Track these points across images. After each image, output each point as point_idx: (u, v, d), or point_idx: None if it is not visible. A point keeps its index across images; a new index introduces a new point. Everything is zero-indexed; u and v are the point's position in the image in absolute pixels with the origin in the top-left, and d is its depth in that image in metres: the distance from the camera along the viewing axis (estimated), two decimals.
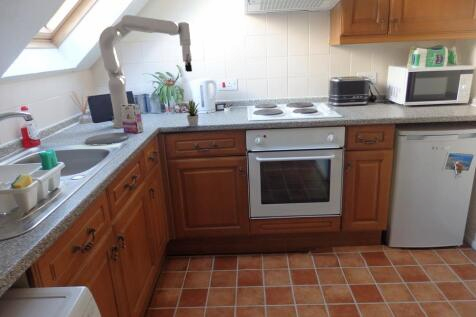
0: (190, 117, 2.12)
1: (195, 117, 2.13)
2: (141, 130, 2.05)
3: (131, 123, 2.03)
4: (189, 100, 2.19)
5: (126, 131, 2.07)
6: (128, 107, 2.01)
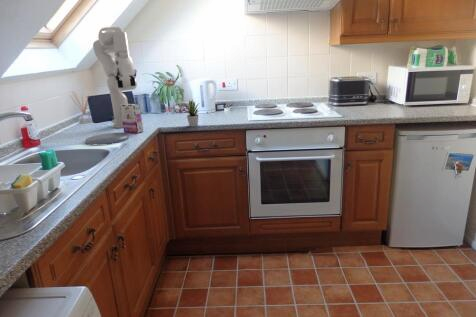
0: (190, 117, 2.12)
1: (195, 117, 2.13)
2: (141, 130, 2.05)
3: (131, 123, 2.03)
4: (189, 100, 2.19)
5: (126, 131, 2.07)
6: (128, 107, 2.01)
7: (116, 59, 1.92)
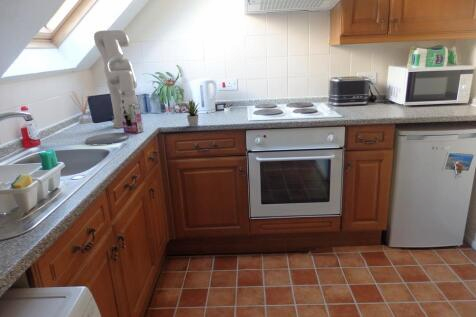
0: (190, 117, 2.12)
1: (195, 117, 2.13)
2: (141, 130, 2.05)
3: (131, 123, 2.03)
4: (189, 100, 2.19)
5: (126, 131, 2.07)
6: None
7: (122, 98, 1.98)
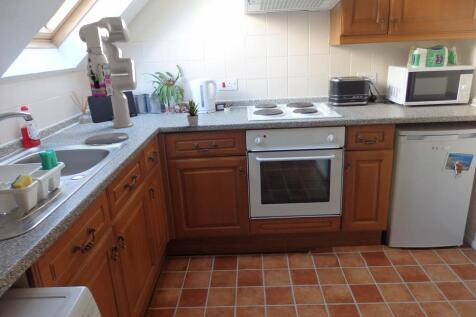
0: (190, 117, 2.12)
1: (195, 117, 2.13)
2: (111, 93, 1.84)
3: None
4: (189, 100, 2.19)
5: (94, 95, 1.86)
6: None
7: (88, 56, 1.78)
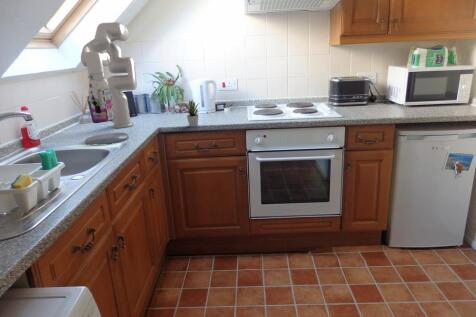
0: (190, 117, 2.12)
1: (195, 117, 2.13)
2: (111, 117, 1.86)
3: (101, 110, 1.85)
4: (189, 100, 2.19)
5: (96, 119, 1.88)
6: None
7: (90, 82, 1.80)
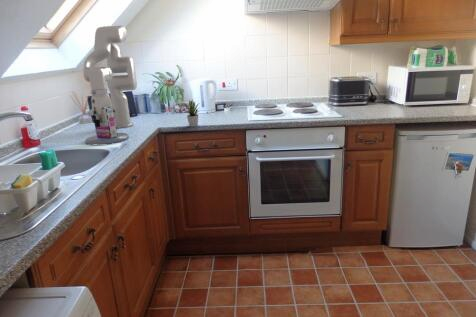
0: (190, 117, 2.12)
1: (195, 117, 2.13)
2: (115, 134, 1.90)
3: (104, 127, 1.88)
4: (189, 100, 2.19)
5: (99, 136, 1.92)
6: None
7: (92, 97, 1.82)
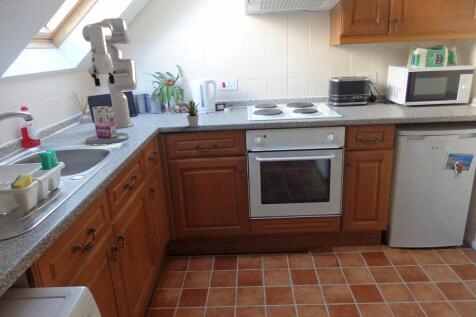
0: (190, 117, 2.12)
1: (195, 117, 2.13)
2: (115, 134, 1.90)
3: (104, 127, 1.88)
4: (189, 100, 2.19)
5: (99, 136, 1.92)
6: (100, 110, 1.85)
7: (92, 56, 1.81)
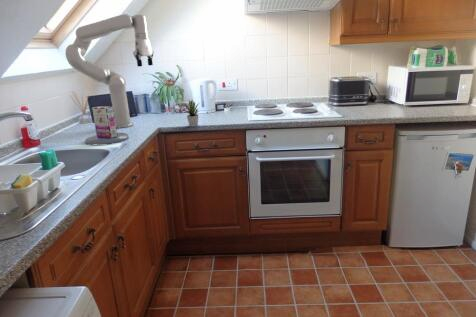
0: (190, 117, 2.12)
1: (195, 117, 2.13)
2: (115, 134, 1.90)
3: (104, 127, 1.88)
4: (189, 100, 2.19)
5: (99, 136, 1.92)
6: (100, 110, 1.85)
7: (136, 40, 2.14)
